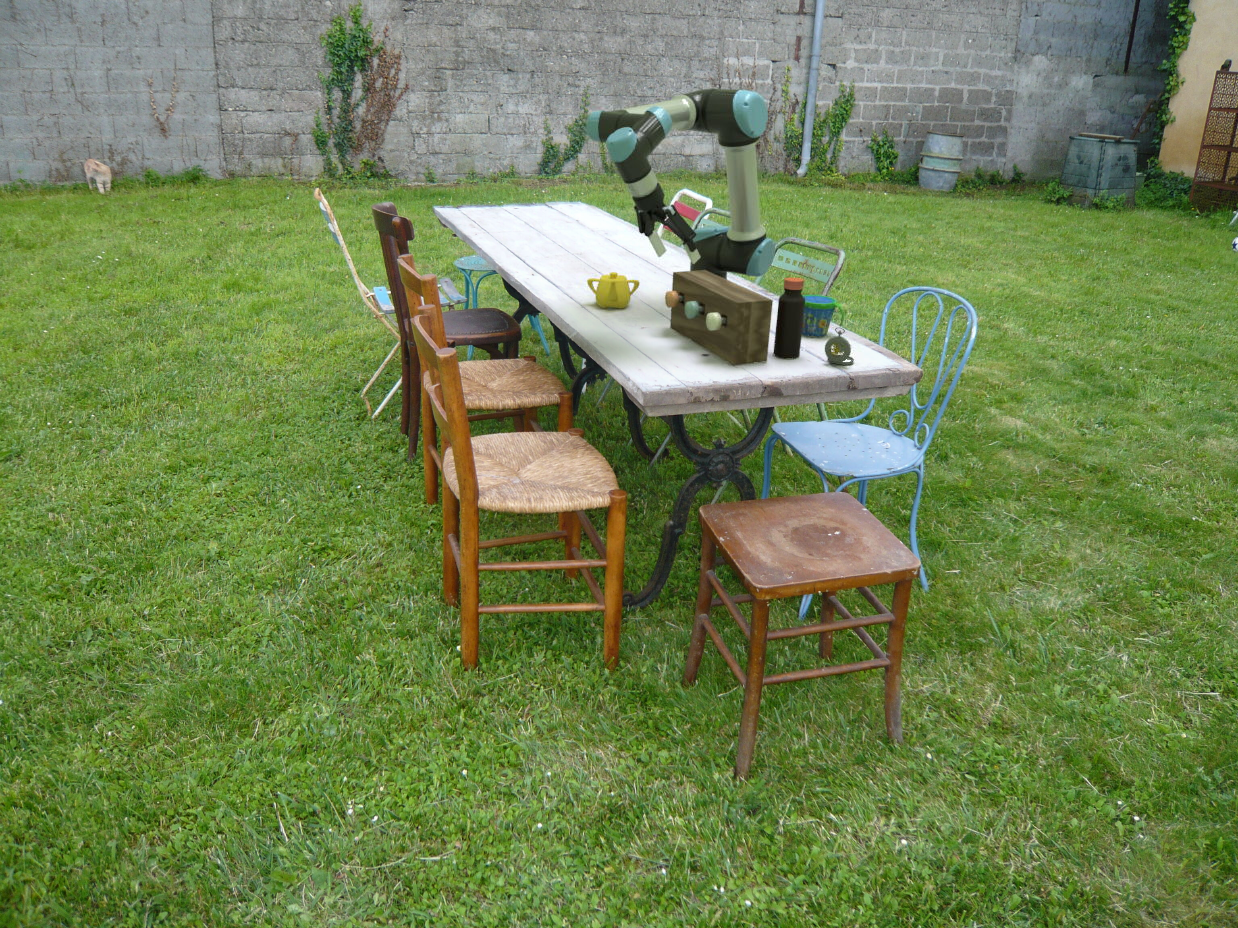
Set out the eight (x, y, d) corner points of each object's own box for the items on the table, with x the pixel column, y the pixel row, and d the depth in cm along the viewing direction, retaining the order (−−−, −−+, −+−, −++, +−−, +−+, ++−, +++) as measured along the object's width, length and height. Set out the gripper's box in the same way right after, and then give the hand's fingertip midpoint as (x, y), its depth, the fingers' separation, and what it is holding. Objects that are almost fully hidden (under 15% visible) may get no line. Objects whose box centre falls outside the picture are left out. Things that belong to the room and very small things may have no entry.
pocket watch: (849, 358, 240) (854, 321, 236) (858, 368, 232) (863, 330, 228) (818, 357, 240) (823, 320, 236) (826, 368, 232) (831, 329, 228)
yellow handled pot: (644, 308, 282) (645, 274, 278) (612, 314, 274) (612, 279, 270) (615, 299, 292) (615, 266, 288) (583, 304, 284) (583, 271, 280)
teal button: (691, 320, 240) (692, 304, 239) (684, 316, 244) (685, 300, 242) (710, 318, 242) (711, 302, 241) (702, 314, 246) (703, 298, 244)
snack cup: (845, 334, 261) (850, 299, 257) (834, 343, 253) (839, 306, 249) (793, 325, 268) (797, 291, 264) (780, 334, 260) (784, 298, 255)
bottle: (781, 350, 245) (789, 275, 237) (804, 355, 242) (812, 279, 233) (768, 355, 241) (775, 279, 232) (791, 360, 237) (799, 283, 229)
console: (732, 365, 232) (737, 302, 225) (670, 328, 262) (673, 272, 255) (766, 361, 236) (772, 300, 229) (701, 325, 266) (705, 270, 259)
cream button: (713, 332, 230) (714, 315, 229) (705, 328, 234) (706, 311, 232) (732, 330, 232) (734, 313, 231) (724, 326, 236) (725, 309, 234)
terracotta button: (671, 309, 250) (672, 293, 249) (664, 305, 254) (665, 289, 252) (689, 307, 252) (690, 292, 251) (682, 304, 256) (683, 288, 254)
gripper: (604, 195, 236) (640, 260, 249) (667, 202, 218) (701, 273, 231) (624, 177, 238) (658, 242, 251) (687, 183, 220) (720, 253, 233)
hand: (679, 257), depth 241 cm, fingers open, 13 cm apart
